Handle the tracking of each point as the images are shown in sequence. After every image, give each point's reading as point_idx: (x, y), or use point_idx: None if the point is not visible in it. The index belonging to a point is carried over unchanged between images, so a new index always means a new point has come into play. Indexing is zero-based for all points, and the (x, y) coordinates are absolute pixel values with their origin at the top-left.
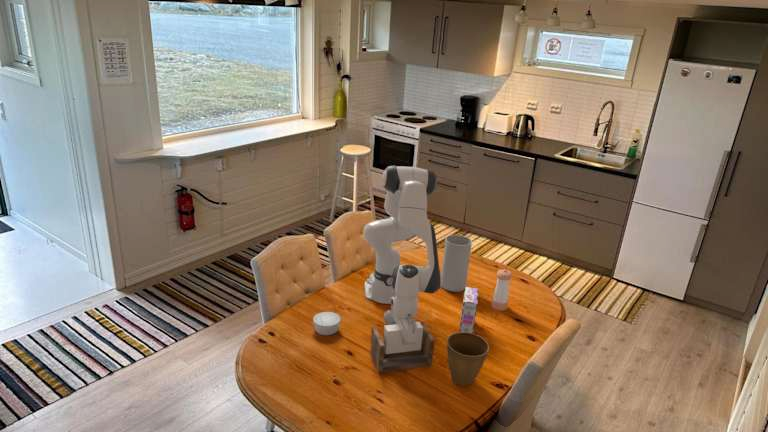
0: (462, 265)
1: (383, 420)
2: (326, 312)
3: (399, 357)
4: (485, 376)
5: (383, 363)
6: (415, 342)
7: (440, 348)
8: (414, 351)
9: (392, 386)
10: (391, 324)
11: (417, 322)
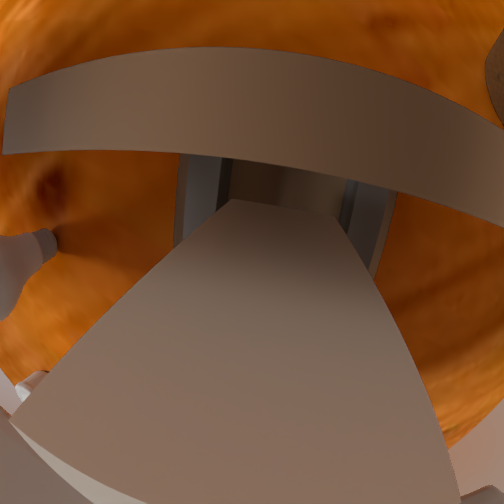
0: None
1: (468, 426)
2: (20, 397)
3: None
4: (500, 3)
5: None
6: (498, 493)
7: (240, 7)
8: (230, 192)
9: None
10: (20, 279)
11: (66, 474)
